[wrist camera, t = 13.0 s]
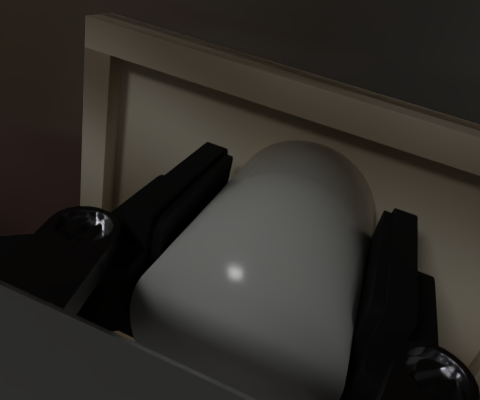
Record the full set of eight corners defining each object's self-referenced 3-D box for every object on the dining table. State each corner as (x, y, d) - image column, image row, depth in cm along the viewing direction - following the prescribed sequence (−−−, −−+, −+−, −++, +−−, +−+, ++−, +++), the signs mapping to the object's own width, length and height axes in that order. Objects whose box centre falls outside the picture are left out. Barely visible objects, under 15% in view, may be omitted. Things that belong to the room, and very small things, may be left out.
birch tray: (112, 12, 12) (85, 15, 11) (639, 172, 10) (665, 195, 9) (93, 338, 19) (76, 358, 18) (400, 484, 17) (399, 517, 16)
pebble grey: (250, 120, 12) (139, 215, 7) (398, 169, 11) (384, 314, 6) (222, 238, 14) (122, 374, 9) (345, 288, 13) (305, 463, 8)
